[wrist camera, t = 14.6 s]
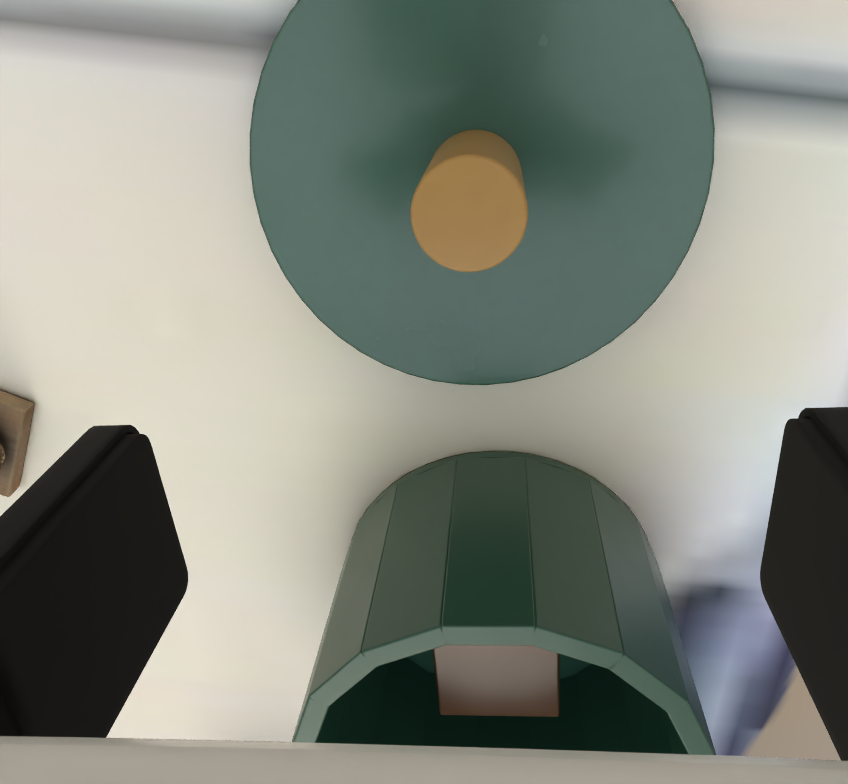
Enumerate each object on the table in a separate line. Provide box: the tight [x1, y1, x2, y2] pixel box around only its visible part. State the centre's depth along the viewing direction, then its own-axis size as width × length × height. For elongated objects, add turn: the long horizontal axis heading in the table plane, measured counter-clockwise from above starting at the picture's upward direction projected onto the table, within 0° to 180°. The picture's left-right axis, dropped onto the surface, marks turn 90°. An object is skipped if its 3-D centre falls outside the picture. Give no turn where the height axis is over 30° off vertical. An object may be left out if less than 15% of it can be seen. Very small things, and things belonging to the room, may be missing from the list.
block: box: [433, 645, 560, 717], centre depth 27 cm, size 4×4×4 cm
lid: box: [250, 0, 715, 385], centre depth 20 cm, size 14×14×6 cm
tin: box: [292, 451, 716, 755], centre depth 26 cm, size 13×13×9 cm
